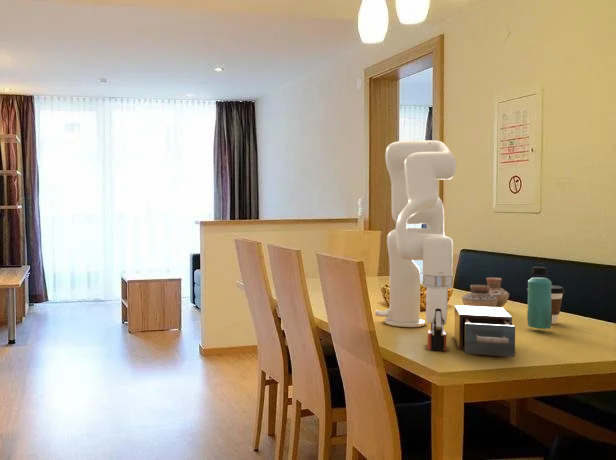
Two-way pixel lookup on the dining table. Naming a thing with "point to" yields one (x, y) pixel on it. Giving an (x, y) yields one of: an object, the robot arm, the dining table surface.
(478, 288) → the pottery
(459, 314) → the cabinet
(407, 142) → the robot arm
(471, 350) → the drawer
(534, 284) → the beverage bottle
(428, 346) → the block
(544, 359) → the dining table surface
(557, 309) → the coffee cup
